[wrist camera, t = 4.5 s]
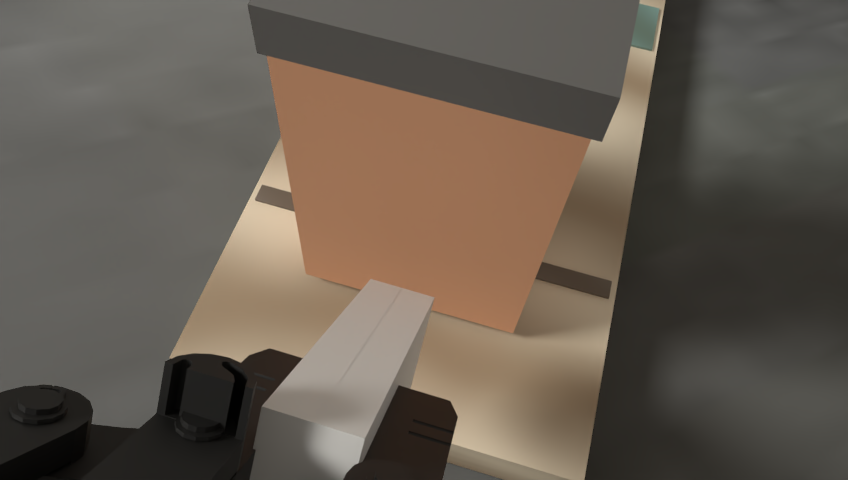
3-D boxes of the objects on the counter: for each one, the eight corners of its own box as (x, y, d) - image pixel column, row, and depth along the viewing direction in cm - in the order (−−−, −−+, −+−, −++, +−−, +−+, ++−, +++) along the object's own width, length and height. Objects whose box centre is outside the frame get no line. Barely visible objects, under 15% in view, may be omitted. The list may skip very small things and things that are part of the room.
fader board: (567, 498, 21) (584, 483, 19) (185, 381, 22) (168, 356, 21) (674, -101, 36) (689, -141, 35) (443, -152, 37) (446, -193, 36)
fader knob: (519, 335, 21) (620, 98, 12) (299, 272, 22) (247, 3, 13) (552, 199, 24) (654, -78, 15) (353, 146, 24) (341, -149, 16)
